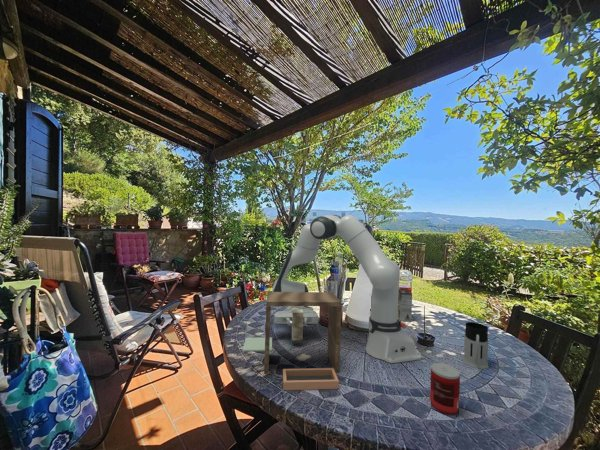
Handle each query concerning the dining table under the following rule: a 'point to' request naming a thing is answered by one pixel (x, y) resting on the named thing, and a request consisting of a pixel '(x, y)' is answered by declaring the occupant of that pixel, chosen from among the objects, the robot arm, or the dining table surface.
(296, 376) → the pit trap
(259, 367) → the dining table surface
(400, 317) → the coffee box
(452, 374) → the canned food
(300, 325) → the ash block
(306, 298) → the walnut tunnel
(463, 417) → the dining table surface
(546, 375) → the dining table surface
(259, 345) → the sage pad
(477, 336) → the glass holder
